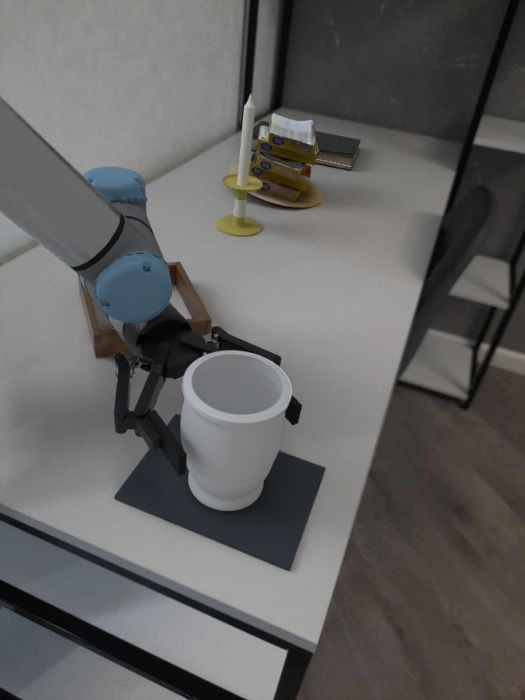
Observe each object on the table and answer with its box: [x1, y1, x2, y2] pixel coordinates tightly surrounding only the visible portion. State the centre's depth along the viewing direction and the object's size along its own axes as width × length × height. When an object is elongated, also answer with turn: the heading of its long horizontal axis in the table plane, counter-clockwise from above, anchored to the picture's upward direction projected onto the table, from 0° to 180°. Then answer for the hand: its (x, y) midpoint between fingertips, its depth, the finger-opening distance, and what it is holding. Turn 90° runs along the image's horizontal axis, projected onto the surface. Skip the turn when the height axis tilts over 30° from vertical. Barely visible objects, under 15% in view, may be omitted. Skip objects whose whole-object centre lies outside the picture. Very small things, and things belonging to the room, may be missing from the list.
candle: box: [215, 94, 263, 238], centre depth 105 cm, size 10×10×27 cm
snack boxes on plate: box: [227, 112, 324, 208], centre depth 128 cm, size 25×25×17 cm
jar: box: [180, 350, 293, 511], centre depth 54 cm, size 11×10×15 cm
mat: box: [113, 413, 326, 572], centre depth 59 cm, size 20×14×1 cm
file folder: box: [251, 120, 362, 171], centre depth 162 cm, size 33×4×24 cm
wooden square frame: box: [77, 261, 213, 358], centre depth 82 cm, size 17×18×4 cm
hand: (244, 439), depth 52 cm, fingers open, 13 cm apart
